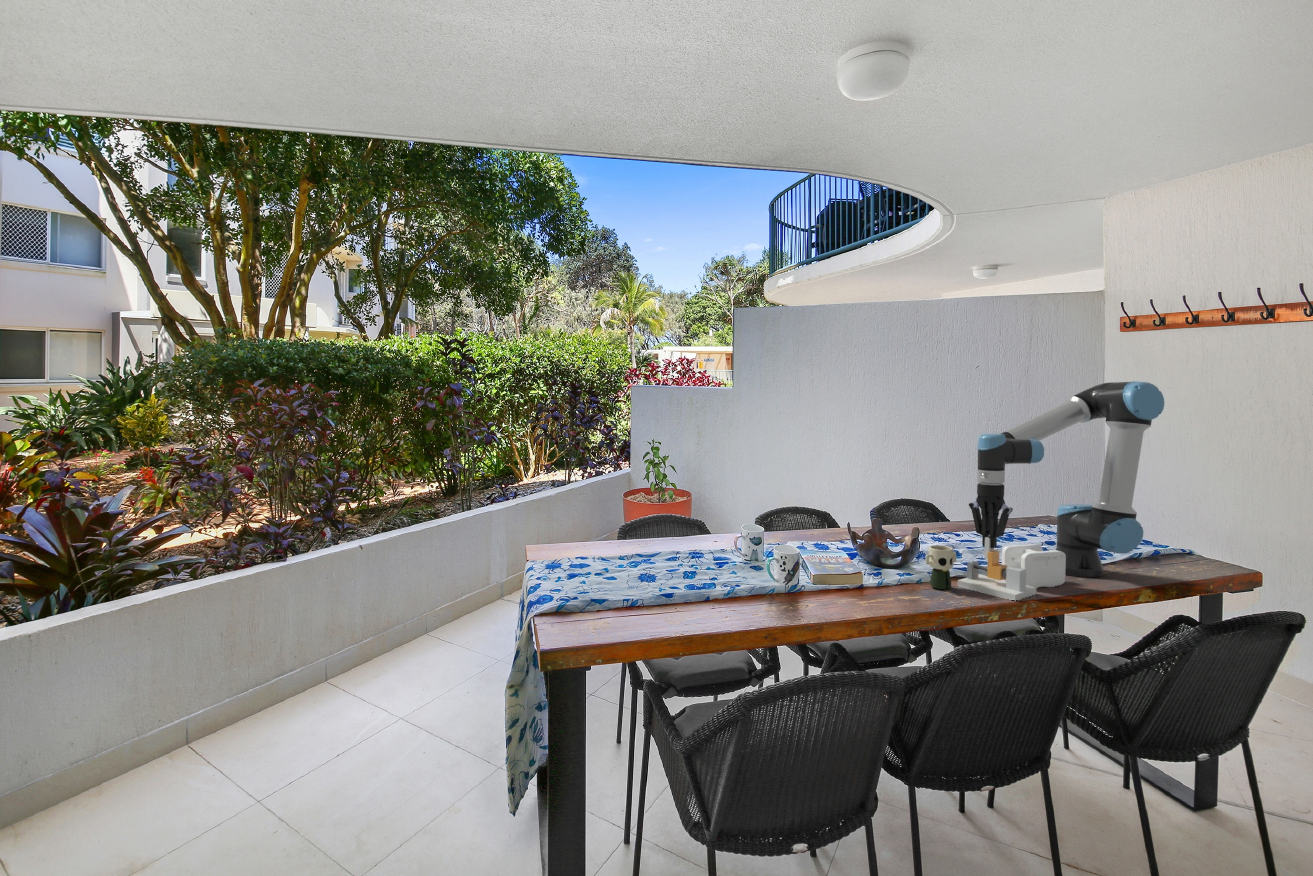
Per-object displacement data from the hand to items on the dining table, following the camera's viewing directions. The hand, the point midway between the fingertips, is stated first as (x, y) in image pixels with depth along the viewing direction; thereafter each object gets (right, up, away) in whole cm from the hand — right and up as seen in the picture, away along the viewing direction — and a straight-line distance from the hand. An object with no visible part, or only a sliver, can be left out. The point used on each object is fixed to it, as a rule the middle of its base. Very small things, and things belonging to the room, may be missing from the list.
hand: (989, 557), depth 196 cm
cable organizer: (+17, -10, +5) cm, 20 cm away
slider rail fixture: (+1, -10, -1) cm, 10 cm away
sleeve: (+2, -6, -2) cm, 6 cm away
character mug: (-14, -10, +2) cm, 18 cm away
